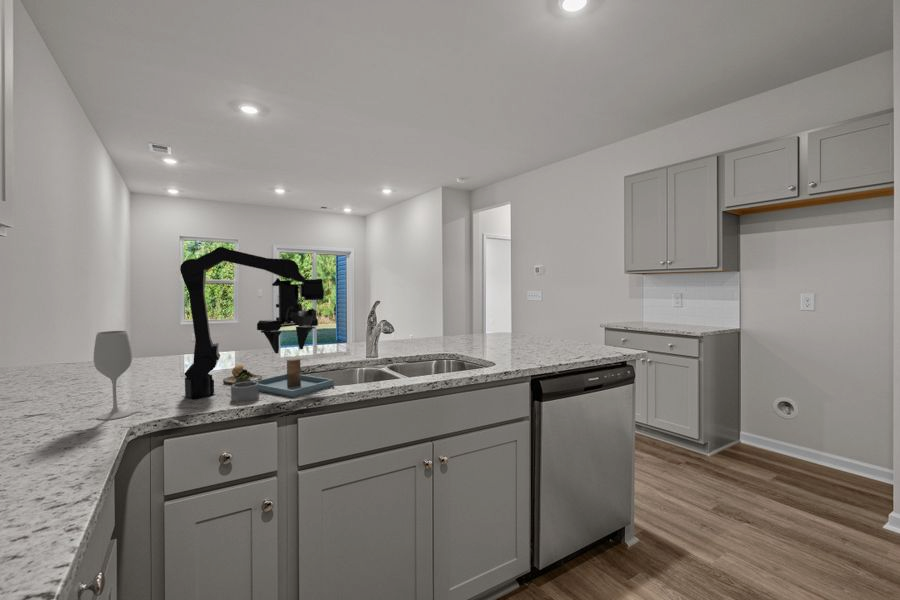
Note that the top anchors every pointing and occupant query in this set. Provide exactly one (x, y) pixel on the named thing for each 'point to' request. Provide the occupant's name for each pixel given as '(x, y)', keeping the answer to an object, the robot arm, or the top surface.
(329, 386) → the tray
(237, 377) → the burger
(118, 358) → the wineglass
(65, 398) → the top surface
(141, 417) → the top surface
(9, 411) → the top surface
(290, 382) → the peg
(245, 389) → the cup
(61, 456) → the top surface
